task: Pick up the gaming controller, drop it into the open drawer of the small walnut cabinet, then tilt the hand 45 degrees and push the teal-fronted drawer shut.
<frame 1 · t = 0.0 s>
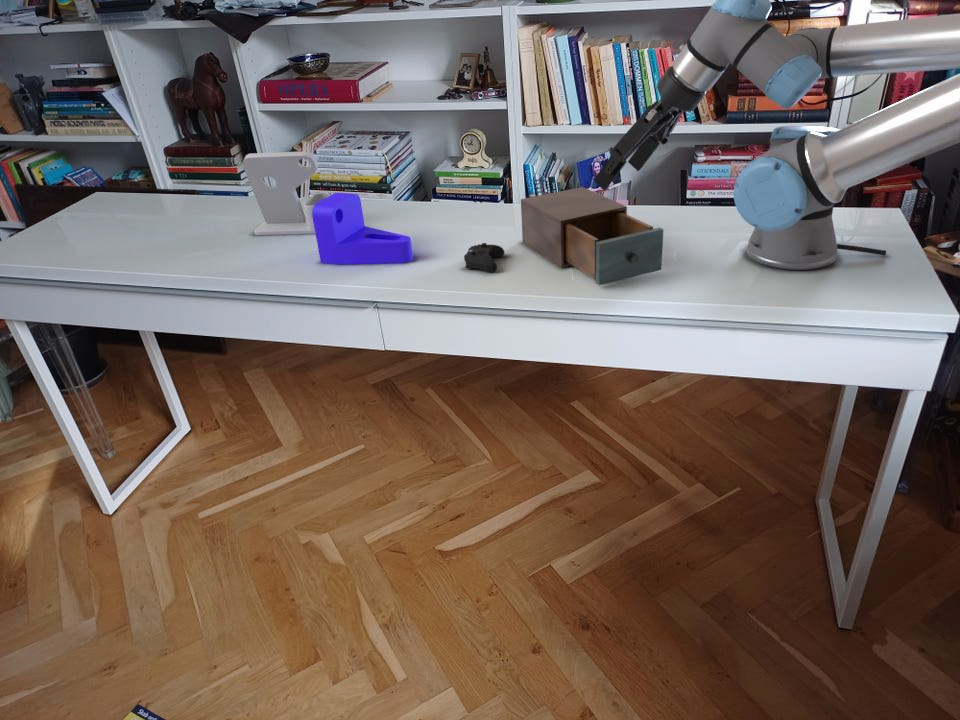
hand: (617, 175, 135), 15 cm above the table, tool tilted 35°, fingers open, 13 cm apart
cabinet: (572, 247, 147), on the table
gaming controller: (484, 264, 143), on the table
phone holder: (296, 227, 171), on the table
bracket: (372, 257, 151), on the table
drawer: (609, 245, 134), point 5 cm above the table, slide at 11.0 cm
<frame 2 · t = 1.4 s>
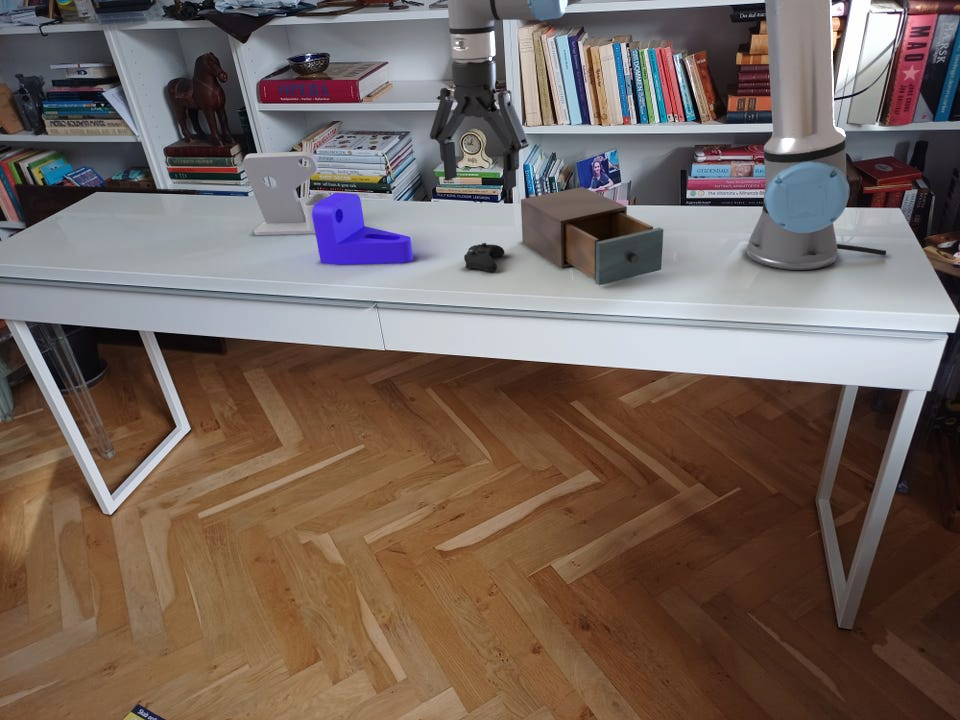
hand: (479, 183, 135), 16 cm above the table, tool pointing down, fingers open, 13 cm apart
nothing on the table moved.
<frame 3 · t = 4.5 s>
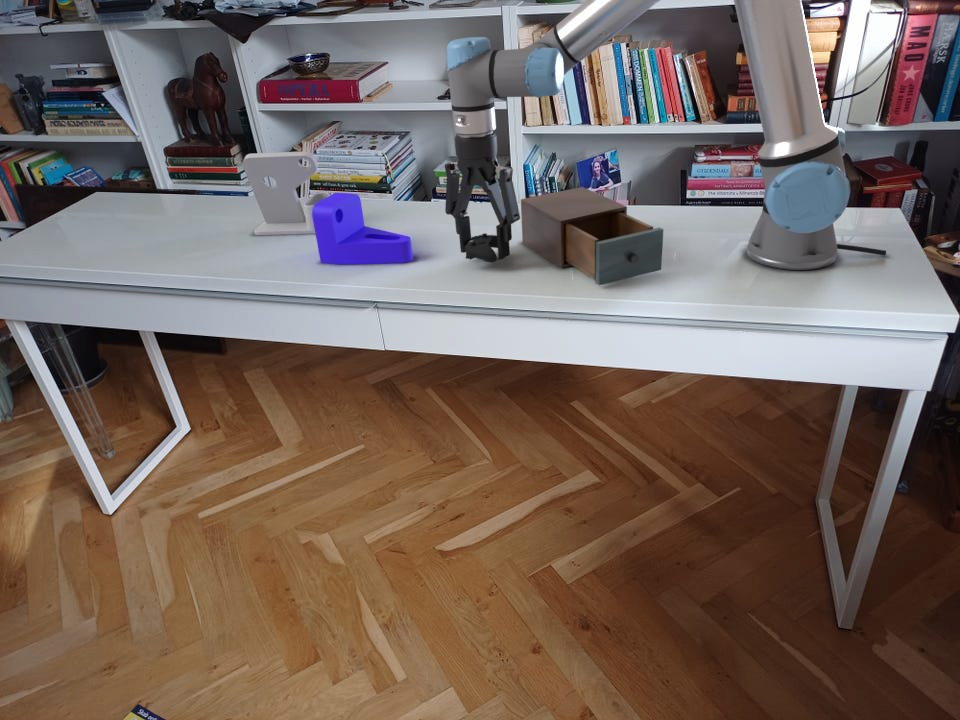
hand: (485, 253, 142), 2 cm above the table, tool pointing down, fingers closed on gaming controller, 8 cm apart
gaming controller: (484, 255, 142), point 2 cm above the table, touching gripper
everything else where it was.
when the fingers open (8 cm above the table, at t = 9.5 s): gaming controller drops 4 cm, resting on drawer.
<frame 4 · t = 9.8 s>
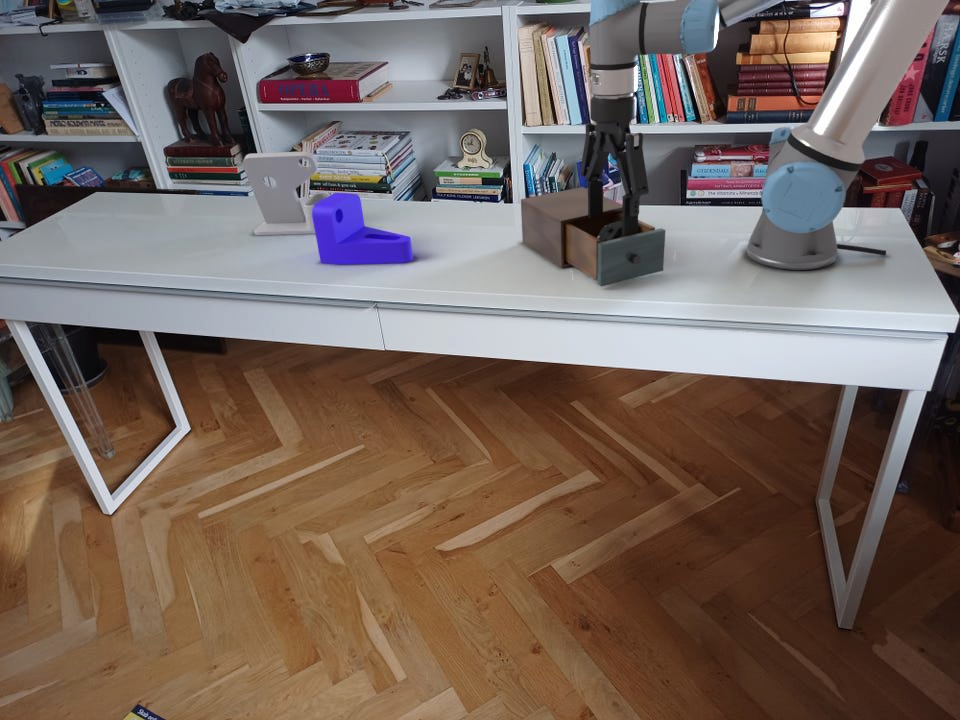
hand: (612, 224, 132), 9 cm above the table, tool pointing down, fingers open, 10 cm apart
gaming controller: (615, 248, 134), point 4 cm above the table, touching drawer
drawer: (611, 246, 134), point 5 cm above the table, slide at 11.6 cm, touching gaming controller
everything else where it was.
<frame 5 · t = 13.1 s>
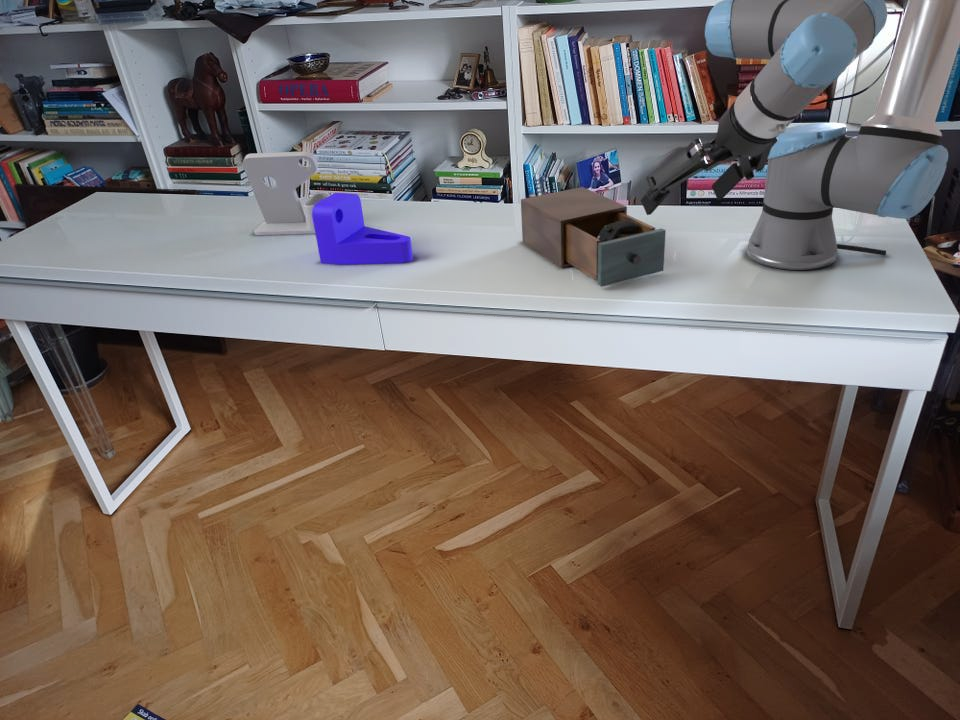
hand: (681, 200, 119), 16 cm above the table, tool tilted 45°, fingers open, 13 cm apart
nothing on the table moved.
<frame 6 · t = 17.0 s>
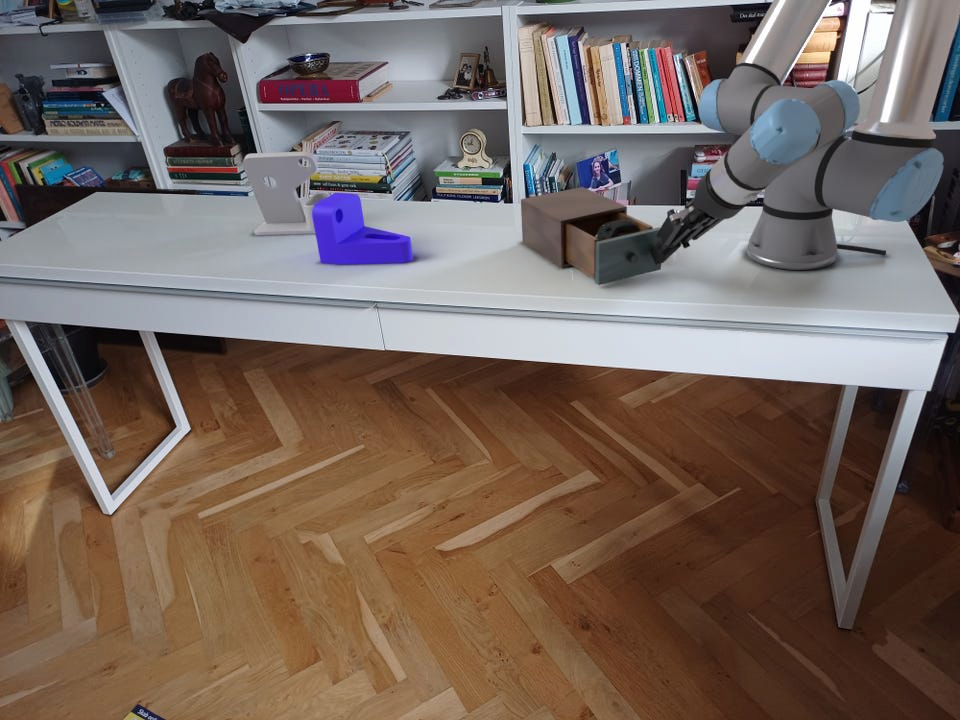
hand: (656, 257, 129), 4 cm above the table, tool tilted 45°, fingers closed
drawer: (609, 245, 134), point 5 cm above the table, slide at 10.9 cm, touching gaming controller, gripper
everything else where it was.
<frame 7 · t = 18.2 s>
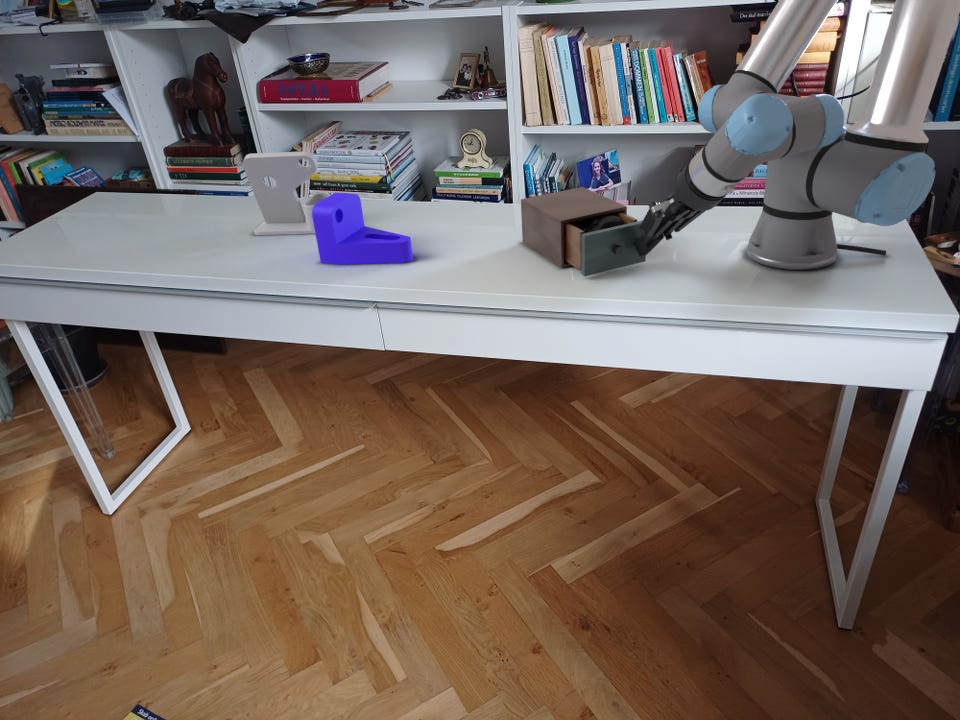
hand: (640, 249, 133), 4 cm above the table, tool tilted 45°, fingers closed
gaming controller: (600, 241, 138), point 4 cm above the table, touching cabinet
drawer: (595, 237, 138), point 5 cm above the table, slide at 6.2 cm, touching gripper
everything else where it was.
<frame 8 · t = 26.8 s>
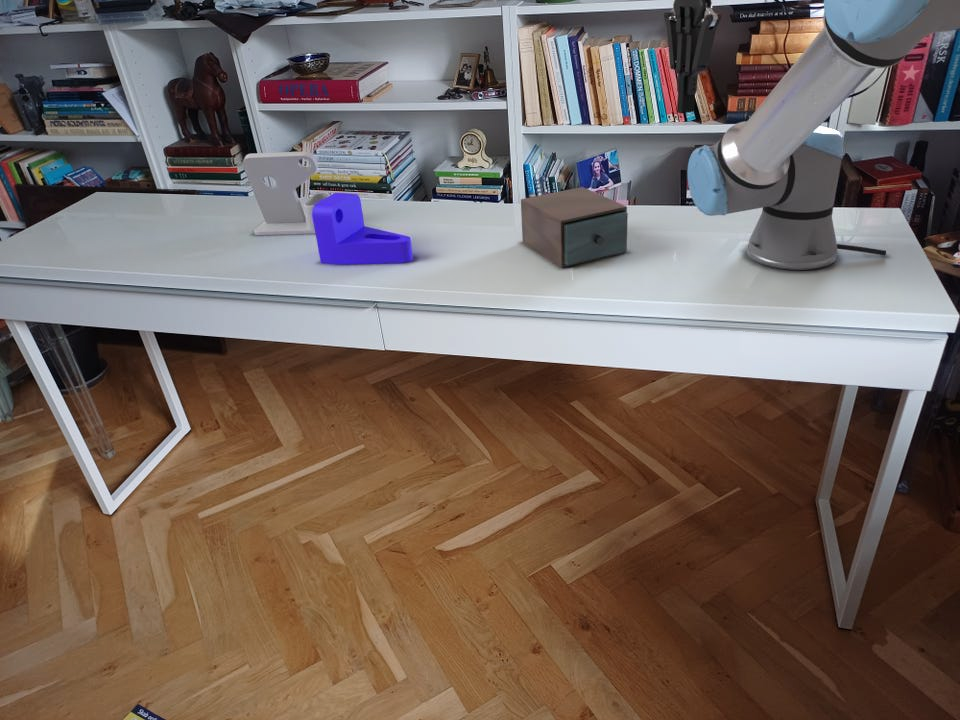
hand: (685, 111, 136), 24 cm above the table, tool pointing down, fingers closed
gaming controller: (583, 233, 143), point 4 cm above the table, touching drawer
drawer: (578, 228, 143), point 5 cm above the table, slide at 0.0 cm, touching cabinet, gaming controller
everything else where it was.
at the end: gaming controller inside the target area in the cabinet (1.9 cm from its centre), point 3.7 cm above the cabinet's base; drawer slide at 0.0 cm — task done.
